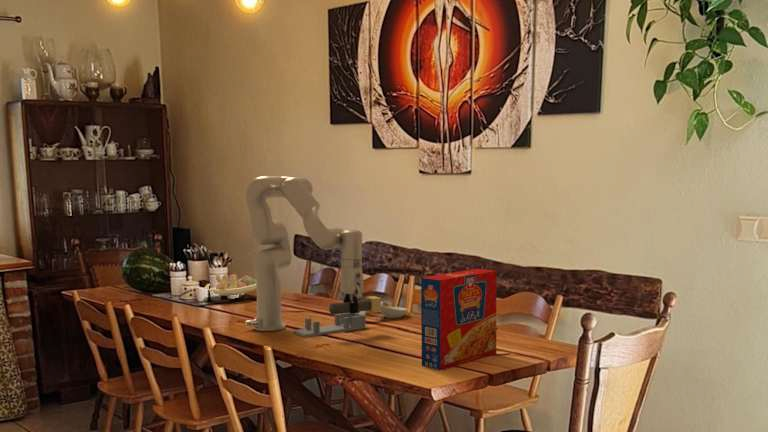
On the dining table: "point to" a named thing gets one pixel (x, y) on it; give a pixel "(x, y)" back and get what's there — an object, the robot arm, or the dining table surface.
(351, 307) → the robot arm
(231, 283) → the dish with food
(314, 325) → the clip rail
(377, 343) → the dining table surface
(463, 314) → the pasta box
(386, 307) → the spoon rest
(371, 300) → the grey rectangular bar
